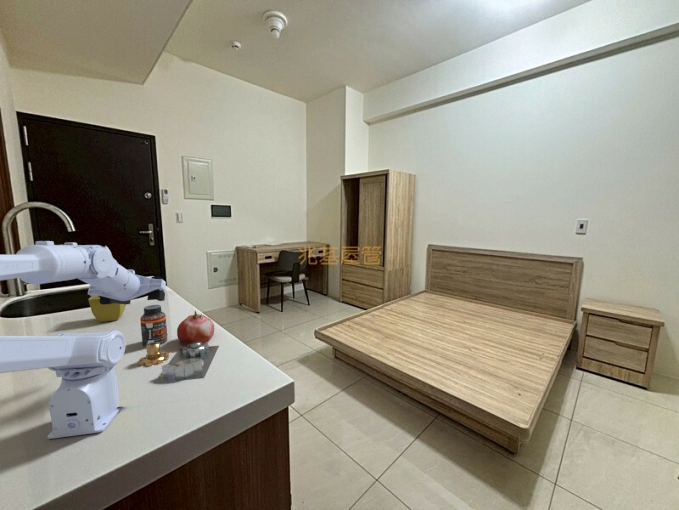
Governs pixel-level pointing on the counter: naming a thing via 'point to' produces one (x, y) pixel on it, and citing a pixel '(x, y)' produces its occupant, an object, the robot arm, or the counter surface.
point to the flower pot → (106, 310)
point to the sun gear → (195, 349)
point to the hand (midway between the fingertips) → (146, 298)
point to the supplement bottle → (153, 325)
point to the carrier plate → (181, 361)
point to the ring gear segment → (182, 370)
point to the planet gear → (153, 355)
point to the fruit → (195, 329)
